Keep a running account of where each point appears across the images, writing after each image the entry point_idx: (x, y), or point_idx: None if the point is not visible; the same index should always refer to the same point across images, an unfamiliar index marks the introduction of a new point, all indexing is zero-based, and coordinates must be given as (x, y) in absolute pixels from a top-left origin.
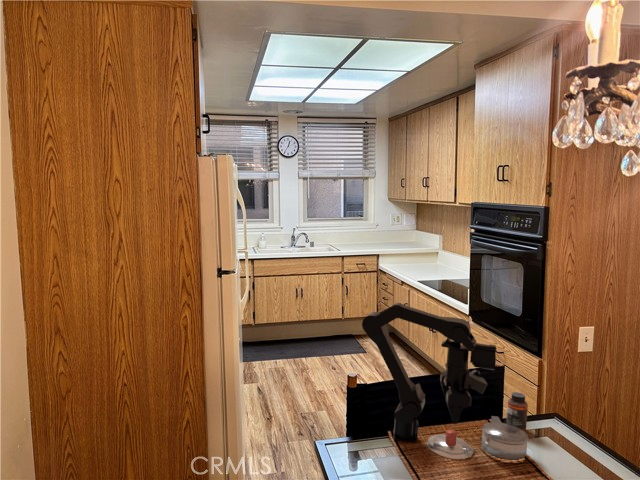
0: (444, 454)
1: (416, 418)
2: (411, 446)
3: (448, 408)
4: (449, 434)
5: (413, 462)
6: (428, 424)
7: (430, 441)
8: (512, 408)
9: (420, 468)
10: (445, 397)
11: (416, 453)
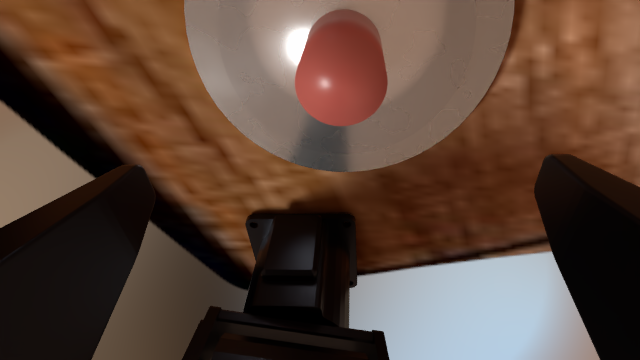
0: (478, 93)
1: (295, 306)
2: (392, 228)
3: (152, 206)
4: (380, 101)
5: None
6: (102, 148)
7: (332, 158)
8: None
9: None
10: (90, 358)
11: (457, 213)
